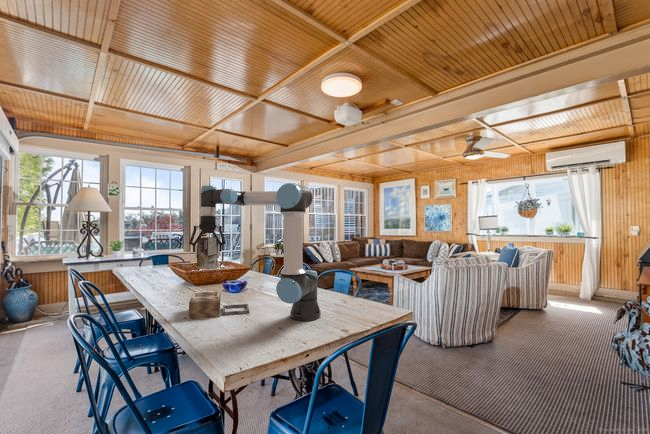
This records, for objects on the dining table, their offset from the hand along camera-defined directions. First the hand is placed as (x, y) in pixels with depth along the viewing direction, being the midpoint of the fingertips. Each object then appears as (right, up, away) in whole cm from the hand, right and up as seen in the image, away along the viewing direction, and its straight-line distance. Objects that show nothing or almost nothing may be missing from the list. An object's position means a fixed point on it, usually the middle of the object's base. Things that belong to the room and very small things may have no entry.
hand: (207, 258), depth 162 cm
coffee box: (0, -5, 0) cm, 5 cm away
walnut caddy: (+7, -28, +1) cm, 29 cm away
